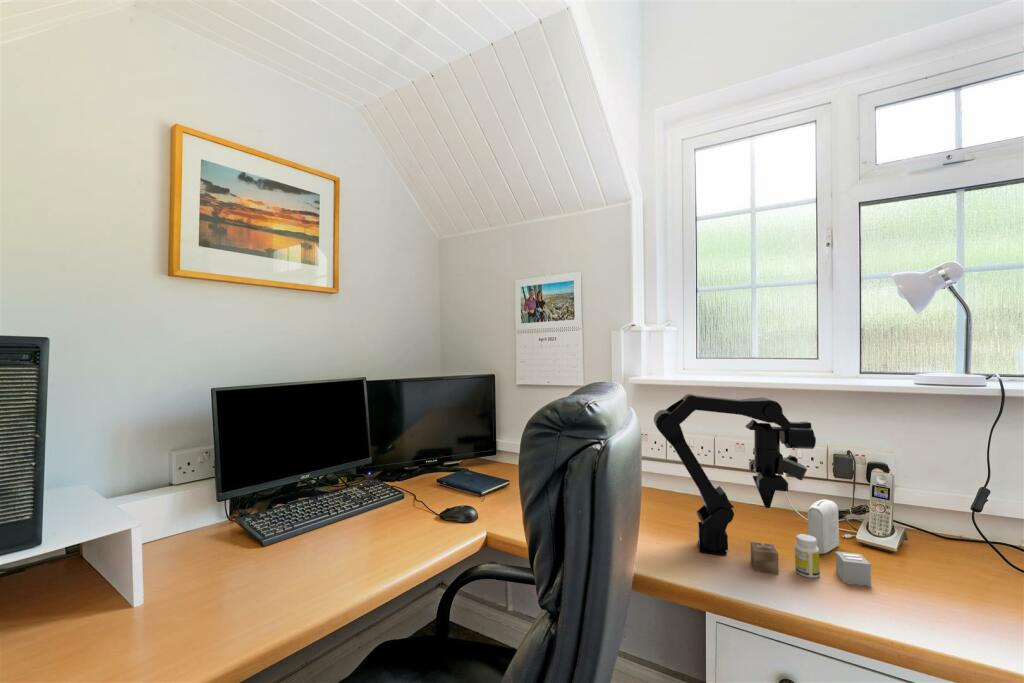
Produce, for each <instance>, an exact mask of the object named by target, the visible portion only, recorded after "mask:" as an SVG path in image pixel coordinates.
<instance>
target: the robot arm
mask: <svg viewBox="0 0 1024 683" xmlns="http://www.w3.org/2000/svg"><path fill="white" fill-rule="evenodd" d="M695 411H703V412H711V413H719V414H720V413H721V414H730V415H740V416H745V417H748V418H751V421H750V422H749V423H747V424H746V425H745V426H744V427H745V428H746V429H748V430H750V431H754V436H753V437H754V438H753V439H754V441H753V442H754V447H753V448H752V450H753V452H752V453H753V454H754V459H752V460H750V461H749V462H748V468H749V471H750V472H753V471H754V472H755V475H752V478H753V482H754V484H755V487H756V488H757V491H758V493H759V495H760V498H761V501H762V503H763V506H764V507H765V508H766V509H770V508H771V505H772V503H773V499H774V495H775V493H776V492H777V491H778V492H779V491H780V492H788V491H789V483H788V481H787V480H786V479H785V477H783V476H784V474H786V475H789V476H791V477H794V478H796V480H800V481H803V480H804V477H805V475H806V472H807V470H808V469H807V467H806V466H805V465H803V464H802V463H799V461H798V458H797V457H796V456H794V455H791V454H789V455H788V456H784V455H783V454H782V453H781V452H780V451H781V449H780V448H781V447H780V445H784V446H785V448H786V449H798V450H799V449H802V450H803V449H804V450H813V449H814V448H815V447H816V443H817V438H816V436H815V432H814V429H813V428H812V423H811V422H810V421H789V419H788V418H787V416H785V414H784V412H783V407H782V405H781V404H780V403H779V402H778V401H776V400H773V399H769V398H767V397H751V398H743V399H736V398H725V397H715V396H705V395H696V394H692V393H688V394H685V395H684V396H683V397H682V398H681V399H679V400H678V401H676V402H674V403H672V404H671V405H669V406H668V407H667V408H666V409H660V410H658V411H657V412H656V413H655V414H654V417H653V422H654V423H653V424H654V425H655V427H656V428H657V430H658V431H659V433H660V434H661V435H662V437H664V439H665V440H666V441H667V442H668V443H669V444H670V445H671V446H672V447H673V449H674V451H675V452H676V454H677V456H678V457H679V459H680V461H681V462H682V464H683V465H684V468H686V470H687V472H688V474H689V475H690V477H691V478H692V480H693V482H694V483H695V485H696V487H697V488H698V490H699V491H698V492H699V494H700V497H701V500H702V502H703V505H702V506H700V508H699V509H698V510H697V511H696V515H697V518H698V519H699V521H698V522H697V526H698V527H697V529H698V535H697V536H698V540H697V546H698V551H699V553H703V554H712V555H719V556H727V551H728V549H729V548H728V547H729V545H728V544H729V540H728V536H729V535H728V533H727V527H728V524H730V523H731V522H732V521H733V519H734V516H735V512H734V510H733V509H734V508H735V506H734V505H733V503H732V502H731V501H730V500H729V499H728V496H727V494H726V492H725V491H724V490H723V488H722V487H721V485H719V486H718V487H715V486H714V485H713V484H712V482H711V481H710V479H709V477H708V476H707V474H706V472H705V471H704V469H703V467H702V466H701V464H700V462H699V461H698V460H697V457H696V456H695V454H694V453H693V451H692V449H691V447H690V446H689V444H688V442H687V441H686V438H685V436H684V433H683V429H682V427H681V424H682V423H683V422H685V421H686V420H687V419H688V417H690V416H691V414H693V413H694V412H695ZM756 420H757V421H761V422H757V421H756ZM771 423H772V424H775V425H777V426H772V424H771ZM780 443H781V444H780Z"/></svg>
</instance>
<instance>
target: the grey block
mask: <svg viewBox="0 0 1024 683" xmlns="http://www.w3.org/2000/svg"><path fill="white" fill-rule="evenodd" d="M871 569H872V567H871V562H869V561H868V560H867V559H866V558H865V556H863V554H861V553H854V552H845V551H838V550H837V551H835V573H836V574H837V576H838V577H839V578H840V579H841V581H842V580H843V581H842V582H843V583H844V584H847V583H850V584H849V585H855V584H858V585H857V586H863V585H867V586H866V587H872V573H871V572H872V570H871Z"/></svg>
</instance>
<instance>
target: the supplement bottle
mask: <svg viewBox="0 0 1024 683" xmlns="http://www.w3.org/2000/svg"><path fill="white" fill-rule="evenodd" d="M795 538H796V540H795V542H796V543H795V544H794V556H795V557H794V559H795V561H794V563H795V571H796V572H797V574H798V575H801V576H803V577H805V578H810V579H816V578H819V577H820V574H821V571H820V568H821V566H820V554H819V549H818V547H817V540H816V538H815V537H813V536H810V535H808V534H806V533H805V534H804V533H803V534H802V533H800V534H797V535H796V537H795Z"/></svg>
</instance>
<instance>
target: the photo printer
mask: <svg viewBox="0 0 1024 683" xmlns="http://www.w3.org/2000/svg"><path fill="white" fill-rule="evenodd" d="M839 524H840V523H839V508H838V505H837V503H835V502H834V500H829V499H819V500H817V501H815V502H813V503H812V504H811V506H810V507H809V508H808V510H807V535H810V536H813V537H815V538H816V540H817V547H818V549H819V555H822V554H827V553H829V552H830V551H832V550H834V549H835V548H837V547H838V546H839V545H840V544H839V543H840V532H839V528H840V527H839Z"/></svg>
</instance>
